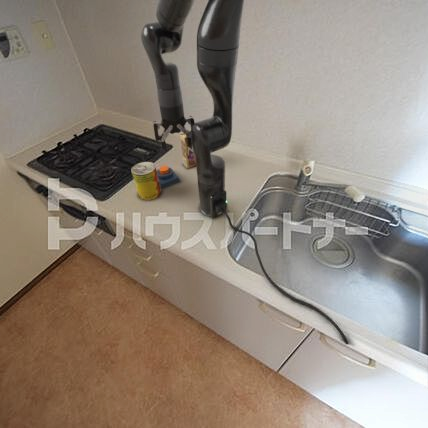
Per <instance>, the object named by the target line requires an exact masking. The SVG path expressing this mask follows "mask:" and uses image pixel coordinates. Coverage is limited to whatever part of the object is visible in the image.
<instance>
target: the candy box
mask: <svg viewBox="0 0 428 428" xmlns="http://www.w3.org/2000/svg"><path fill="white" fill-rule="evenodd" d="M179 136H180V145H181V154H182V163H183V166H184V167H185V168H186V169H190V168H192V167H194V166H195V167H196V164H195V160H194V153H193V146H192V144H191V145H190V147H188V145H187V137H186V134H184V133H180V134H179ZM191 142H192V140H191Z"/></svg>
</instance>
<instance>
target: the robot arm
mask: <svg viewBox="0 0 428 428" xmlns="http://www.w3.org/2000/svg"><path fill="white" fill-rule="evenodd" d="M194 3H195V0H158V1H157V3H156V7H155V16H156V20H157V21H152V22H151V21H150V22H146V23H145V24H144V25H143V26H142V28H141V31H140V39H141V43H142V47H143V48H144V51H145V54H146V56H147V58H148V60H149V62H150V64H151V68H152V70H153V74H154V79H155V85H156V92H157V93H156V94H157V103H158V106H159V111H160V116H161V117H160V118H161V121H156V120H154V121H152V126H153V132H154V139H155V141H157V142H160V143H161V148H162V150H164V151H165V152H167V151H168V149H167V143H166V139H167V138H168V136H169V135H170V134H171V135H174V134H179V133H180V134H181V133H182V134H186V137H187V145H188V147H190V145H191V144H192V146H193V153H194V160H195V164H196V165H195V167H196V176H197V189H198V199H199V211H200V212H201V214H203V215H204V216H208V217H210V218H212V219H214V218H216V217H218V216H220V215H222V214H224V215H225V217H226V218H227V220H228V224H229V226H230V227H231V228H232V230H234V231H236V232H239V233H241V234H244V235H247V236H249V237H250V239H252V241H253V245H254V251H255V255H256V258H257V260H258V263H259V267H260V269H261V271H262V273H263V275H264V276H265V278H266V279H267V280H268V281H269V283H270V284H271V285H272V287H274V288H275V289H276V290H278V291H279V292H280V293H281V294H283V295H284V296H285V297H287V298H288V299H290V300H292V301H294V302H296V303H298V304H301V305H304V306H306V307H309V308H311V309H313V310H314V311H315V312H317V313H319V315H321V316H322V317H324V318H325V319H326V320H327V321H328V322H329V323H330V324H331V325H332V326H333V327H334V328H335V330H337V332H338V333H339V334H340V337H341V338H342V340H343V342H344V344H345V345H349V341H348V339H347V337H346V335H345V333H344V332H343V330H342V329H341V328H340V327H339V326H338V324H337V323H336V322H335V321H334V320H333V319H332V318H331V317H329V316H328V315H327V314H326V313H325V312H324V311H322V310H321V309H319V308H318V307H317V306H315V305H313V304H311V303H309V302H307V301H305V300H301V299H300V298H296V297H294V296H292V295H291V294H289V293H288V292H286V291H285V290H284V289H282V287H279V286H278V285H277V284H276V283H275V282H274V280H273V279H272V278H271V277H270V276H269V275H268V272H267V271H266V270H265V266H264V265H263V262H262V260H261V256H260V253H259V250H258V244H257V241H256V238H255V237H254V235H252V234H251V233H250V232H248V231H245V230H242V229H239V228H236V227H235V226H234V225H233V223H232V219H231V217H230V216H229V215H228V213H227V210H228V200H227V190H226V162H225V159H224V158H223V157H222V156H220V155H216V154H213V153H215V152H218V151H220V150H222V149H225V148H226V147H228V146H229V145H230V143H231V140H232V136H233V102H234V91H235V80H236V71H237V66H238V58H239V57H238V56H239V49H240V37H241V28H242V27H241V25H242V18H243V10H244V3H245V0H207V2H206V5H205V7H204V9H203V12H202V15H201V18H200V19H199V23H198V27H197V32H196V68H197V71H198V74H199V76H200V79H201V80H202V82H203V84H204V85H205V87H206V88H207V90H208V92H209V94H210V96H211V98H212V104H213V113H212V116H211V117H209V118H206V119H202V120H200V121H195V119H194V116H192V115H190V116H189V117H185V111H184V102H183V93H182V88H181V84H180V83H181V82H180V76H179V75H180V73H179V68H178V65H177V64H176V63H174V62H171V61H165V60H164V58H163V55H165V54H170V53H174V52H177V51H178V49H179V48H180V47H181V46H182V42H183V36H184V35H183V34H184V28H185V23H186V21H187V19H188V17H189V15H190V13H191V11H192V8H193V7H194ZM187 123H188V125H189V126H190V130H189V129H188V128H187V127H186V124H187ZM161 127H162V128H163V130H162V133H161V135H159V130H160V129H161ZM191 140H192V142H191Z"/></svg>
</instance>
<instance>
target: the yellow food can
mask: <svg viewBox="0 0 428 428" xmlns="http://www.w3.org/2000/svg"><path fill="white" fill-rule="evenodd" d="M130 170H131V171H130V172H131V174H132V178H133V180H134V184H135V187H136V190H137V193H138V196H139V198H140V199H142V200H144V201H151V200H155V199H157V198H159V196H160V195H161V194H162V187H161V186H160V183H159V179H158V175H157V167H156V164H155V163H154V162H152V161H148V160H147V161H145V160H143V161H140V162H137V163H135V164H134V165H133V166H132V167H131V168H130Z"/></svg>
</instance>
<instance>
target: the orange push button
mask: <svg viewBox="0 0 428 428" xmlns="http://www.w3.org/2000/svg"><path fill="white" fill-rule="evenodd" d="M156 171H157V175H158V179H159V183H160V188H161V189H165V188H167V187H170V186H172V185H174V184H177V183H180V177H179V176H178V174H176V173H175V172H174V170H173V169H172V167H169V173H168V174H166V175H161V174H160V171H159V168H158V169H156Z"/></svg>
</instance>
